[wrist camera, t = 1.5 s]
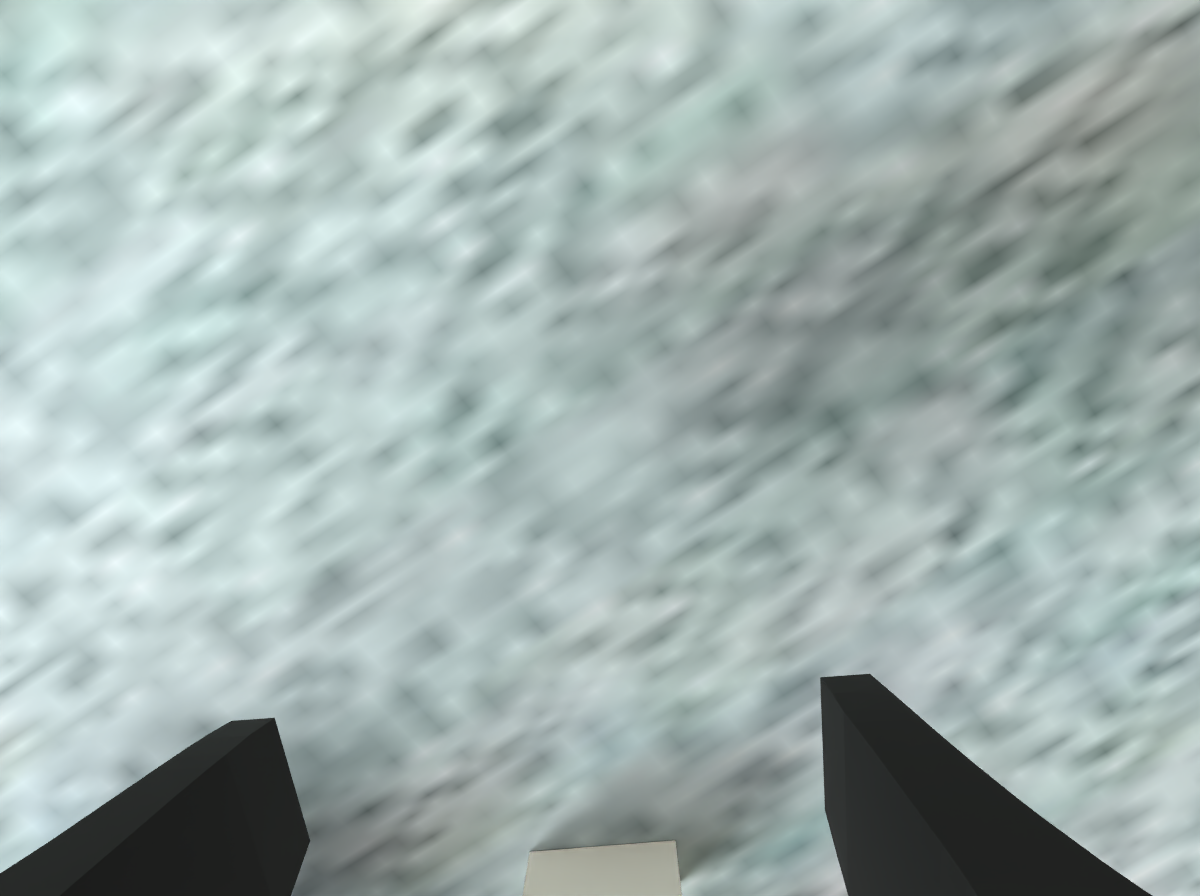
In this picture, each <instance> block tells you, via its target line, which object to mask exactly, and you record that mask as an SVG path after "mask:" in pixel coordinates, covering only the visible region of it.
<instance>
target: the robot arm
mask: <svg viewBox="0 0 1200 896" xmlns="http://www.w3.org/2000/svg"><path fill="white" fill-rule="evenodd" d="M820 681H821V709H822V737H823V765H824V794H825V812H826V815H827V819H828V823H829V827H830V830H831V834H832V838H833V842H834V845H835V849H836V853H837V857H838V860H839V864H840V867H841V871H842V874H843V878H844V882H845V885H846V889H847V892H848V896H1152V895H1150V894H1149V893H1147V892H1146V891H1144V890H1143V889H1141V888H1140V887H1138V886H1137V885H1135V884H1134V883H1133V882H1131V881H1130V880H1128V879H1127V878H1125V877H1124V876H1122V875H1121V874H1120V873H1118V872H1117V871H1115V870H1114V869H1112V868H1111V867H1109V866H1108V865H1107V864H1105V863H1104V862H1102V861H1101V860H1100V859H1098V858H1097V857H1095V856H1094V855H1093V854H1091V853H1090V852H1089V851H1087V850H1086V849H1085V848H1083V847H1082V846H1080V845H1079V844H1078V843H1076V842H1075V841H1074V840H1072V839H1071V838H1070V837H1068V836H1067V835H1065V834H1064V833H1063V832H1061V831H1060V830H1059V829H1057V828H1056V827H1055V826H1053V825H1052V824H1050V823H1049V822H1048V821H1046V820H1045V819H1044V818H1042V817H1041V816H1040V815H1038V814H1037V813H1036V812H1034V811H1033V810H1032V809H1031V808H1029V807H1028V806H1027V805H1025V804H1024V803H1023V802H1022V801H1020V800H1019V799H1018V798H1016V797H1015V796H1014V795H1013V794H1011V793H1010V792H1009V791H1008V790H1006V789H1005V788H1004V787H1003V786H1001V785H1000V784H999V783H998V782H997V781H995V780H994V779H993V778H992V777H990V776H989V775H988V774H987V773H985V772H984V771H983V770H982V769H980V768H979V767H978V766H977V765H975V764H974V763H973V762H972V761H971V760H969V759H968V758H967V757H966V756H965V755H963V754H962V753H961V752H960V751H959V750H957V749H956V748H955V747H954V746H953V745H952V744H950V743H949V742H948V741H947V740H946V739H945V738H943V737H942V736H941V735H940V734H939V733H938V732H936V731H935V730H934V729H933V728H932V727H931V726H929V725H928V724H927V723H926V722H925V721H924V720H923V719H921V718H920V717H919V716H918V715H917V714H916V713H914V712H913V711H912V710H911V709H910V708H909V707H908V706H906V705H905V704H904V703H903V702H902V701H901V700H900V699H898V698H897V697H896V696H895V695H894V694H893V693H892V692H890V691H889V690H888V689H887V688H886V687H885V686H883V685H882V684H881V683H880V682H879V681H878V680H876V679H875V678H874V677H873V676H872V675H871V674H861V675H848V676H834V677H821V678H820ZM309 842H310V839H309V835H308V832H307V828H306V825H305V821H304V818H303V815H302V811H301V808H300V804H299V801H298V797H297V794H296V790H295V787H294V783H293V780H292V777H291V773H290V770H289V766H288V763H287V759H286V756H285V752H284V749H283V745H282V742H281V739H280V735H279V732H278V728H277V725H276V721H275V718H266V719H253V720H239V721H231V722H229V723H227V724H226V725H224V726H222V727H220V728H219V729H217V730H215V731H213V732H212V733H210V734H208V735H207V736H205V737H204V738H202V739H200V740H199V741H197V742H196V743H194V744H193V745H191V746H190V747H188V748H187V749H185V750H183V751H182V752H180V753H179V754H177V755H176V756H174V757H173V758H171V759H170V760H168V761H167V762H166V763H164V764H163V765H161V766H160V767H158V768H157V769H155V770H154V771H152V772H151V773H149V774H148V775H146V776H145V777H143V778H142V779H141V780H139V781H138V782H136V783H135V784H133V785H132V786H130V787H129V788H127V789H126V790H124V791H123V792H121V793H120V794H119V795H117V796H116V797H114V798H113V799H111V800H110V801H108V802H107V803H105V804H104V805H102V806H101V807H100V808H98V809H97V810H95V811H94V812H92V813H91V814H89V815H88V816H86V817H85V818H83V819H82V820H80V821H79V822H78V823H76V824H75V825H73V826H72V827H70V828H69V829H67V830H66V831H64V832H63V833H61V834H60V835H58V836H57V837H56V838H54V839H53V840H51V841H50V842H48V843H47V844H45V845H43V846H42V847H40V848H39V849H37V850H36V851H34V852H33V853H31V854H30V855H28V856H27V857H25V858H23V859H22V860H20V861H19V862H17V863H16V864H14V865H13V866H11V867H10V868H8V869H6V870H5V871H3V872H2V873H0V896H290V895H291V893H292V890H293V888H294V885H295V882H296V879H297V877H298V874H299V871H300V868H301V865H302V862H303V859H304V857H305V854H306V851H307V848H308V845H309Z"/></svg>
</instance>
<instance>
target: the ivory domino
mask: <svg viewBox="0 0 1200 896" xmlns="http://www.w3.org/2000/svg"><path fill="white" fill-rule="evenodd" d="M523 896H682V893H681V882H680V874H679V865H678V857H677V849H676V841H675V840H673V841H660V842H648V843H635V844H622V845H609V846H596V847H583V848H571V849H558V850H545V851H532V852H529V858H528V865H527V871H526V878H525V884H524V890H523Z"/></svg>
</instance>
